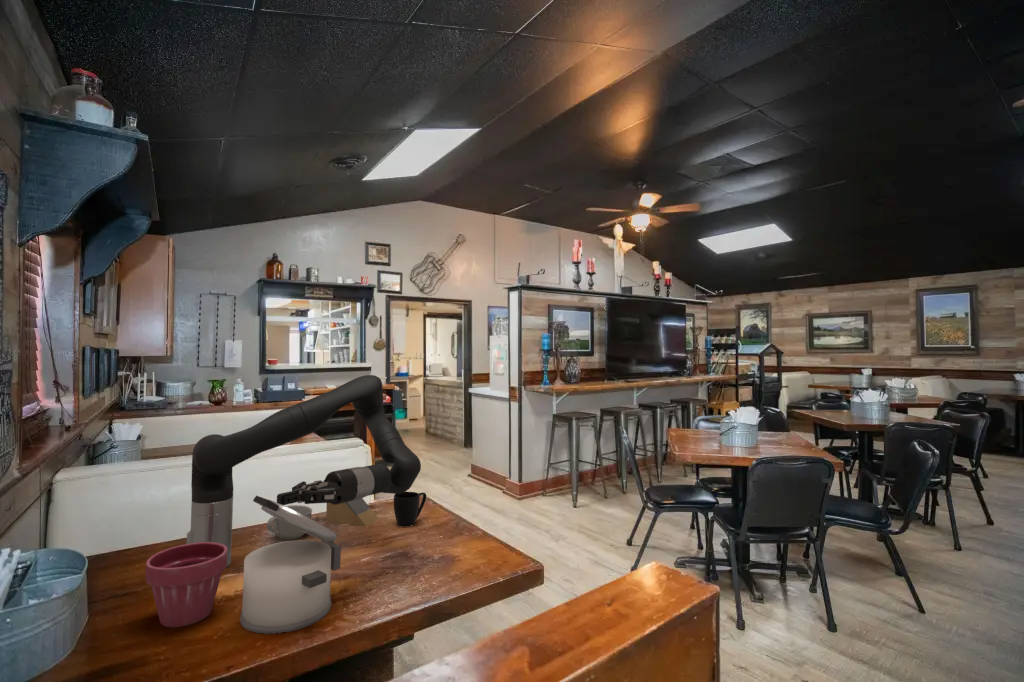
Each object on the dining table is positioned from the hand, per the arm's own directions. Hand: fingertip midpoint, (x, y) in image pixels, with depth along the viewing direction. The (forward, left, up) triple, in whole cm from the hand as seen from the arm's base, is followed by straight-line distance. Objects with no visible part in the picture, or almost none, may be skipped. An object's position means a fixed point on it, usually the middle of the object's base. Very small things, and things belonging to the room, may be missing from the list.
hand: (278, 500), depth 106 cm
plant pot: (-18, +3, -24) cm, 30 cm away
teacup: (-9, +48, -24) cm, 54 cm away
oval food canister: (+2, +2, -24) cm, 24 cm away
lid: (+3, +2, -6) cm, 7 cm away
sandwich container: (+8, +61, -24) cm, 66 cm away
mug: (+27, +57, -24) cm, 67 cm away
